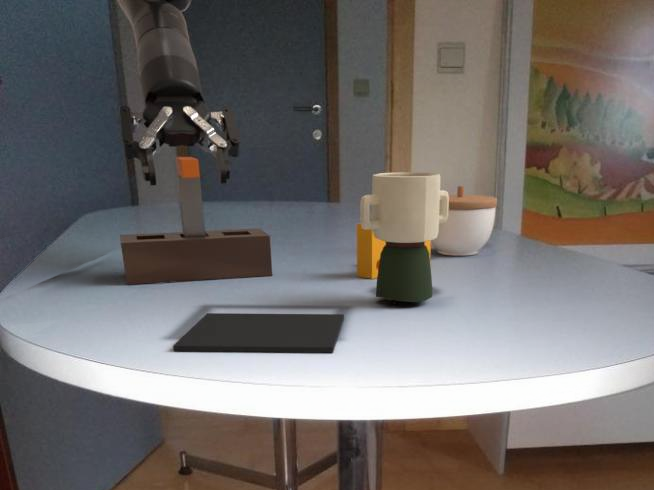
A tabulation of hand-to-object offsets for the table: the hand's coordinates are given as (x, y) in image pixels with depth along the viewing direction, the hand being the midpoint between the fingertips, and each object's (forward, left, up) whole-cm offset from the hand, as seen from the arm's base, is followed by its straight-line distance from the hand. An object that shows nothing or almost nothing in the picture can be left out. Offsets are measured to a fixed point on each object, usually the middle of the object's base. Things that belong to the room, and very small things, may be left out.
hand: (189, 179), depth 88 cm
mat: (+14, -28, -12) cm, 33 cm away
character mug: (+27, -14, -12) cm, 32 cm away
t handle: (0, +1, -12) cm, 12 cm away
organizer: (0, +1, -12) cm, 12 cm away
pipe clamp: (+25, +5, -12) cm, 28 cm away
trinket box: (+35, +20, -12) cm, 42 cm away
